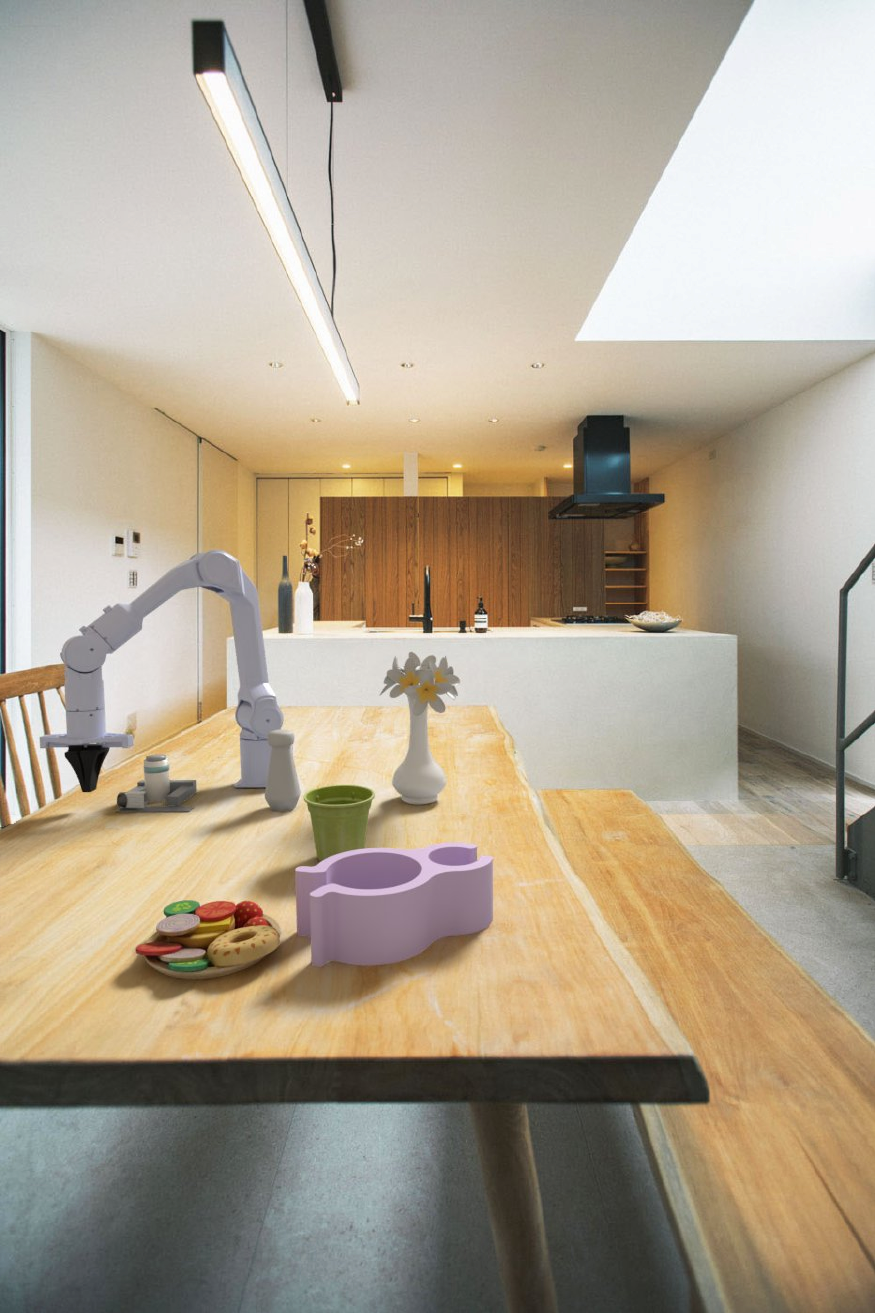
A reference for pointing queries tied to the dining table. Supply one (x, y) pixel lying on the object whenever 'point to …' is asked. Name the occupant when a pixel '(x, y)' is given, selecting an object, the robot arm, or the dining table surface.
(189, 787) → the housing
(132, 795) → the latch pin
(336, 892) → the clip
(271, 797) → the salt shaker
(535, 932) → the dining table surface
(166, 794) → the white cylinder
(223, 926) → the toy food set
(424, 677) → the flower vase
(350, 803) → the plant pot
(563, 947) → the dining table surface
